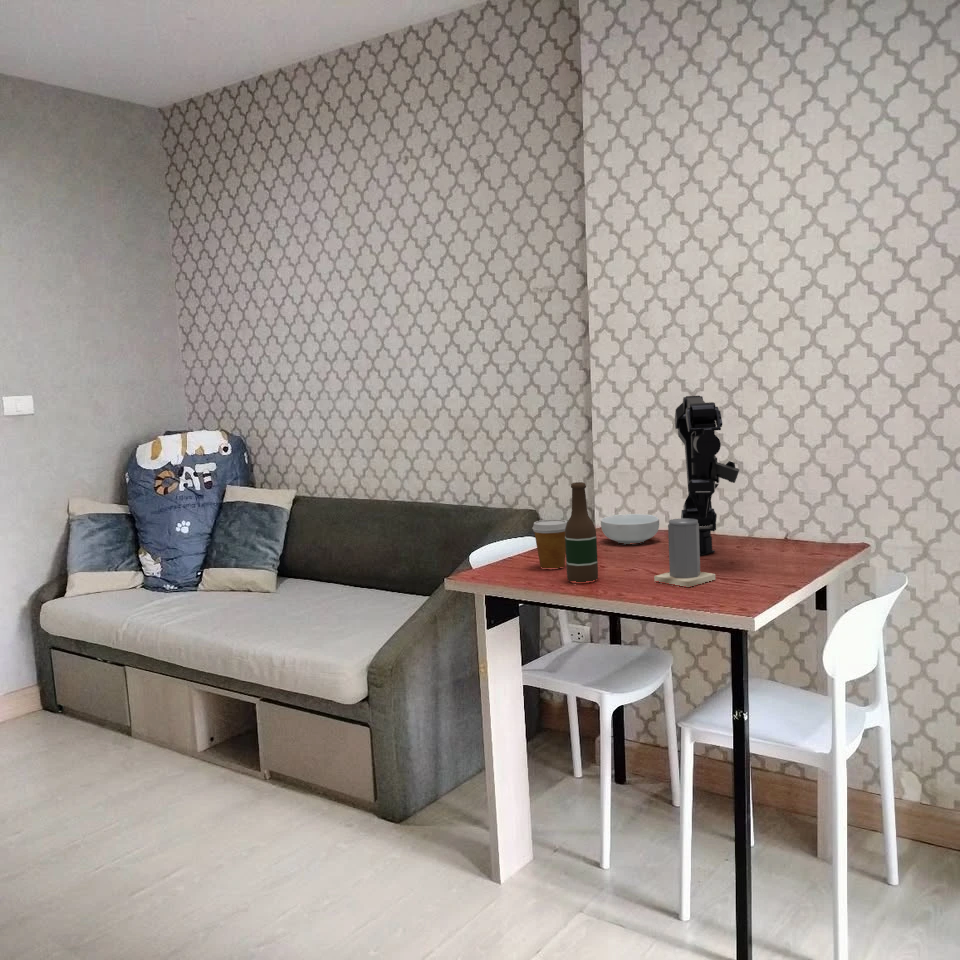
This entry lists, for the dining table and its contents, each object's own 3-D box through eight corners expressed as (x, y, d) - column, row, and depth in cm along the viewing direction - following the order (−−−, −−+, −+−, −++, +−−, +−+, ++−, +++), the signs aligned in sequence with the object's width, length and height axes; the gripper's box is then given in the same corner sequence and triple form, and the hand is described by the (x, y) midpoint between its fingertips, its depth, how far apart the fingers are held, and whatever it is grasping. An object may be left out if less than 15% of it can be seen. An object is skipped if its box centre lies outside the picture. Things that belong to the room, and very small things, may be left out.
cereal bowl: (589, 544, 277) (588, 520, 277) (625, 535, 289) (624, 512, 288) (636, 549, 265) (635, 524, 264) (671, 540, 276) (670, 516, 275)
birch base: (654, 582, 225) (654, 575, 225) (681, 574, 231) (681, 568, 231) (688, 588, 217) (688, 581, 217) (715, 580, 223) (715, 574, 223)
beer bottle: (601, 577, 233) (597, 480, 230) (594, 584, 226) (590, 484, 223) (570, 576, 236) (566, 481, 233) (563, 583, 228) (558, 485, 226)
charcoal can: (665, 574, 226) (663, 520, 224) (689, 570, 228) (688, 517, 227) (680, 579, 220) (678, 524, 218) (704, 575, 222) (703, 521, 220)
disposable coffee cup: (575, 564, 250) (573, 519, 249) (563, 572, 241) (561, 525, 240) (542, 563, 254) (539, 519, 253) (528, 570, 245) (526, 525, 244)
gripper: (734, 456, 224) (736, 521, 226) (738, 448, 242) (740, 509, 243) (686, 457, 227) (688, 521, 229) (694, 450, 245) (696, 509, 247)
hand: (705, 515), depth 237 cm, fingers open, 9 cm apart
